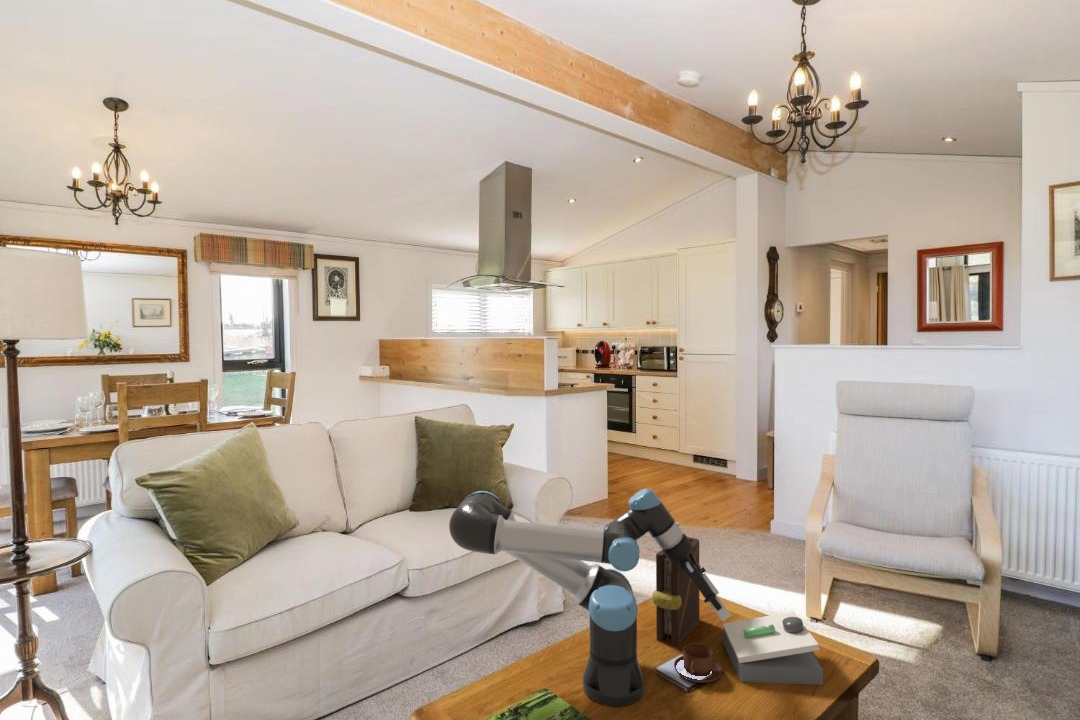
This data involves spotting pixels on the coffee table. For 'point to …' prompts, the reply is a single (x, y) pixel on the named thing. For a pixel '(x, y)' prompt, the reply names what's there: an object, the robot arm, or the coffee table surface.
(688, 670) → the cup and saucer
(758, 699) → the coffee table surface
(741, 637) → the level plate
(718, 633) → the coffee table surface
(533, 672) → the coffee table surface
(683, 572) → the book
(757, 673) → the level base
